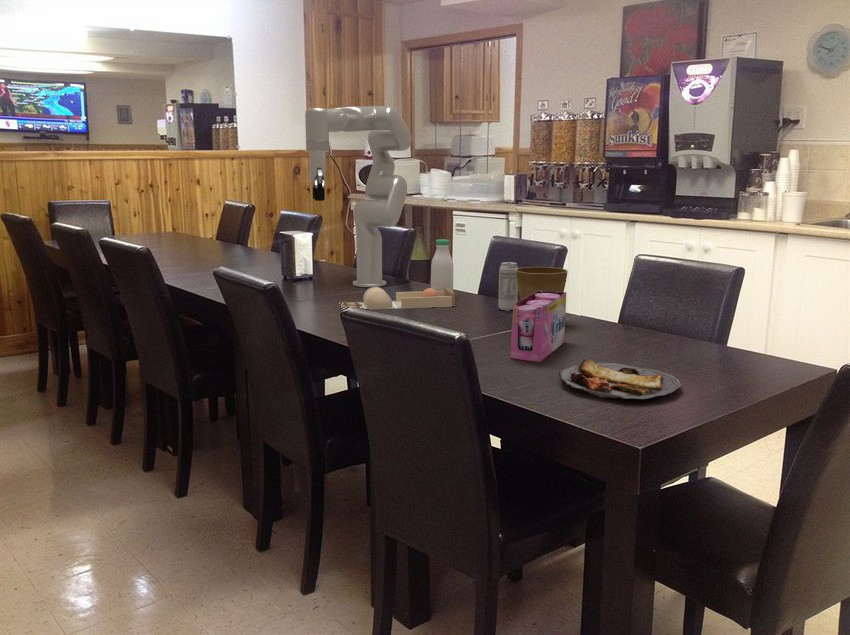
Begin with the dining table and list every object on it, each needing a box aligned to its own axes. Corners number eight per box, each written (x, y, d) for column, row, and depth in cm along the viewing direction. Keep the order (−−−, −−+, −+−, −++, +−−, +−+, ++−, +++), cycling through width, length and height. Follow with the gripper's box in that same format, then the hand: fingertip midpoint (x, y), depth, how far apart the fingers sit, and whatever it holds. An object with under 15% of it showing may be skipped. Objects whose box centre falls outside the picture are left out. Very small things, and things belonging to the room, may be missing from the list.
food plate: (541, 389, 163) (542, 373, 162) (583, 365, 182) (584, 351, 181) (659, 414, 149) (661, 397, 149) (690, 386, 169) (692, 371, 168)
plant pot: (573, 322, 228) (576, 268, 224) (551, 331, 216) (554, 275, 212) (528, 316, 236) (530, 264, 233) (505, 324, 224) (506, 270, 221)
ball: (417, 294, 254) (428, 283, 254) (428, 304, 256) (438, 293, 256) (420, 297, 249) (431, 286, 249) (431, 307, 251) (442, 296, 251)
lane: (339, 311, 253) (338, 287, 251) (446, 308, 260) (447, 284, 259) (342, 318, 242) (342, 293, 241) (454, 314, 250) (455, 290, 248)
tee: (339, 304, 250) (339, 300, 250) (360, 303, 252) (360, 300, 252) (341, 308, 244) (341, 304, 244) (363, 307, 245) (363, 304, 245)
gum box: (539, 364, 183) (541, 308, 180) (507, 360, 186) (509, 305, 183) (565, 342, 204) (567, 291, 201) (536, 339, 207) (538, 289, 204)
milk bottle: (456, 298, 263) (457, 240, 259) (435, 300, 260) (436, 241, 256) (447, 295, 270) (448, 238, 266) (427, 296, 267) (427, 238, 263)
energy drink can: (519, 308, 247) (521, 262, 244) (513, 312, 241) (515, 265, 238) (501, 307, 249) (503, 261, 246) (495, 310, 244) (496, 263, 241)
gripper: (304, 147, 259) (305, 198, 263) (307, 146, 243) (308, 201, 246) (326, 147, 261) (327, 198, 264) (331, 147, 244) (332, 201, 248)
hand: (318, 199), depth 255 cm, fingers open, 9 cm apart
